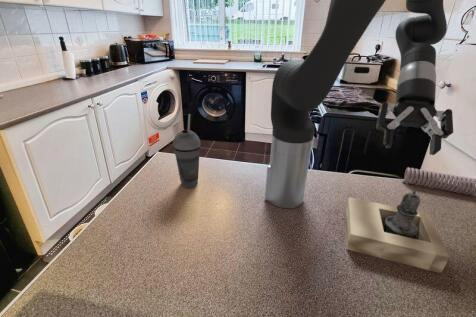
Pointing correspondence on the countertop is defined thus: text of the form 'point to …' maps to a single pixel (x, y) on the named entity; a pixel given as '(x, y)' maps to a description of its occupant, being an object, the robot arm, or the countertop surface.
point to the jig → (393, 236)
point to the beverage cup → (187, 156)
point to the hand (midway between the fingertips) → (410, 150)
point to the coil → (440, 181)
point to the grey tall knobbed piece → (404, 217)
